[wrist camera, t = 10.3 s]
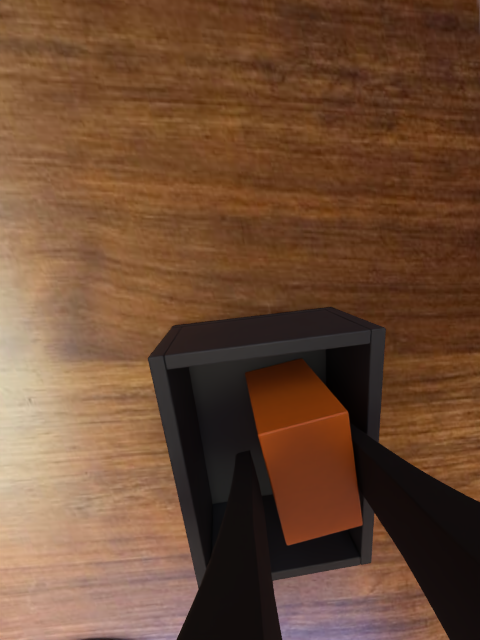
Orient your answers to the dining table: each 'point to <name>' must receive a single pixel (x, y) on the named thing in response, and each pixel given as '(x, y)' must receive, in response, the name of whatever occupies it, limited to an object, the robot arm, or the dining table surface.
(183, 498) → the open box
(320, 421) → the block
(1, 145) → the dining table surface
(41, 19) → the dining table surface
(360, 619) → the dining table surface
